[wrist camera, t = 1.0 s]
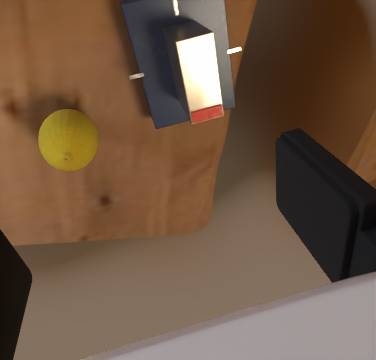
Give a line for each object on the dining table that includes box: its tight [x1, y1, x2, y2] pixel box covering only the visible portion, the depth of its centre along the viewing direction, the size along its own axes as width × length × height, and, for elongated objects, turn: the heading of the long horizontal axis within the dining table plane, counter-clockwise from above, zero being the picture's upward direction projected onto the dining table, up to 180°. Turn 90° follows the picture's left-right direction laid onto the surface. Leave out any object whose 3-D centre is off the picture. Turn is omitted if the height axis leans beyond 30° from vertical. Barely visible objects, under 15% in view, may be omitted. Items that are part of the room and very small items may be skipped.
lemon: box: [38, 109, 99, 171], centre depth 31 cm, size 6×6×8 cm
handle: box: [163, 20, 224, 125], centre depth 28 cm, size 7×3×6 cm, turn 11°
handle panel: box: [120, 0, 241, 129], centre depth 31 cm, size 12×11×3 cm
